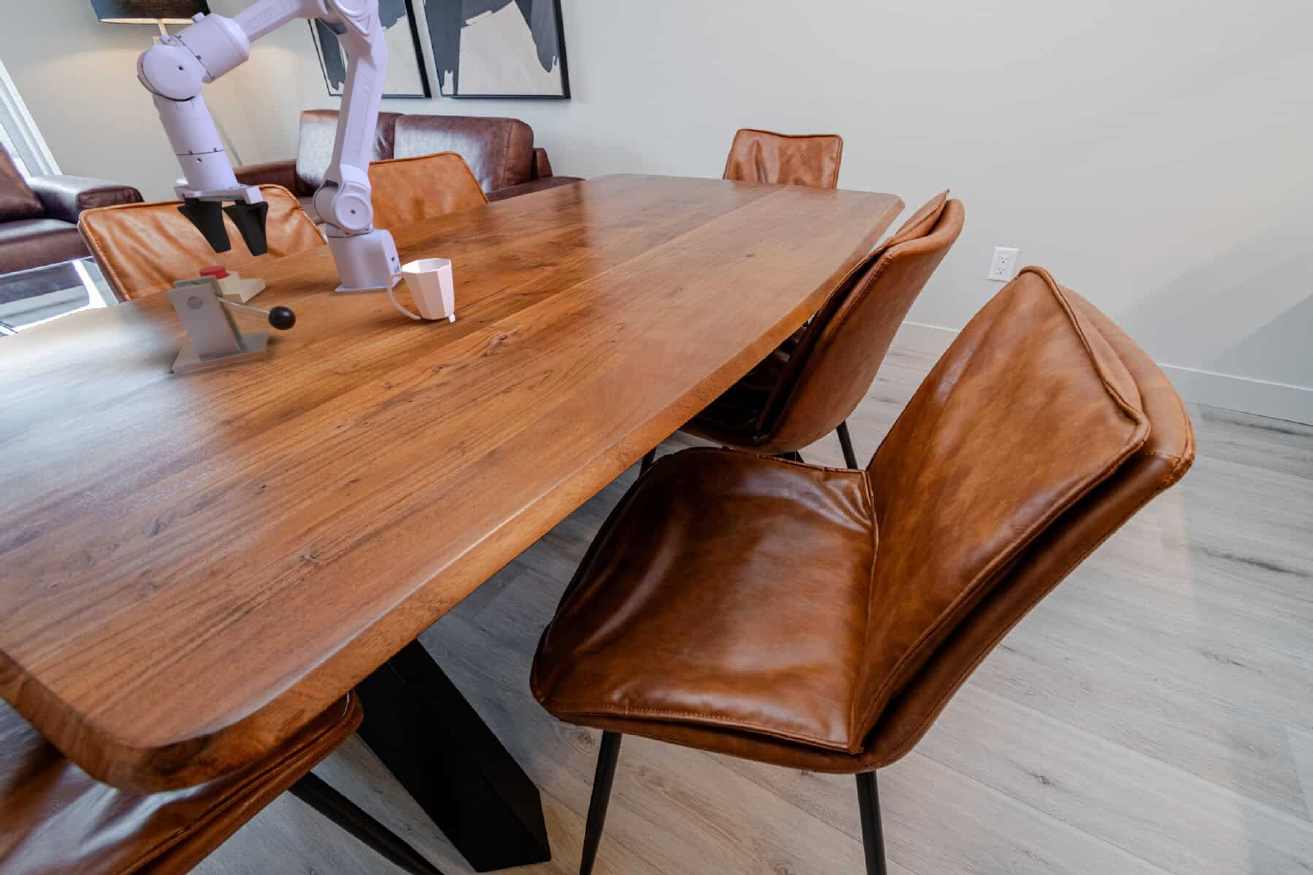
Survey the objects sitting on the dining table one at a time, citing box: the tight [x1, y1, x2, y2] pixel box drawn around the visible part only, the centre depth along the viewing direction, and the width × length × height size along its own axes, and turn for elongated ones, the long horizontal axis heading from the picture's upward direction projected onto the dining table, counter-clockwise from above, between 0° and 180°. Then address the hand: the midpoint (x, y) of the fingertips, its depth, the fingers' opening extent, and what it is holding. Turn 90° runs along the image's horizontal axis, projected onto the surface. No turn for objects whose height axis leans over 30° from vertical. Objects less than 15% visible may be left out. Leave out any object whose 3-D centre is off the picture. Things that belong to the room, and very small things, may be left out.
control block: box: [198, 270, 266, 304], centre depth 99 cm, size 10×8×4 cm
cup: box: [386, 257, 456, 323], centre depth 84 cm, size 7×10×8 cm
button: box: [198, 265, 228, 280], centre depth 98 cm, size 4×4×2 cm
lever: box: [185, 282, 297, 331], centre depth 77 cm, size 12×3×3 cm, turn 116°
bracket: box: [166, 275, 270, 374], centre depth 76 cm, size 10×8×10 cm
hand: (242, 253), depth 89 cm, fingers open, 7 cm apart
